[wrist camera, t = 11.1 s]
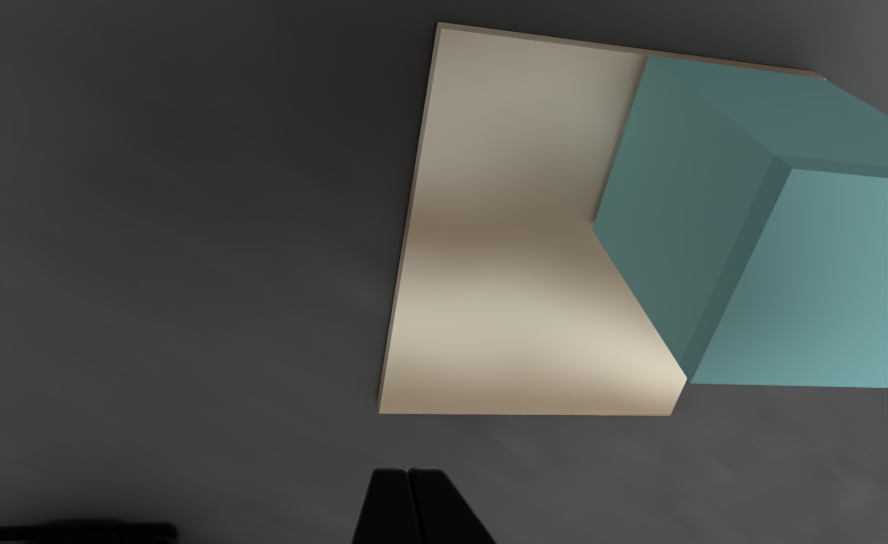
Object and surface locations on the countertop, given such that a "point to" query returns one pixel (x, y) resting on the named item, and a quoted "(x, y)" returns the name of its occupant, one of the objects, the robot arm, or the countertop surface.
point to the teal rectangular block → (754, 224)
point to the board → (522, 237)
